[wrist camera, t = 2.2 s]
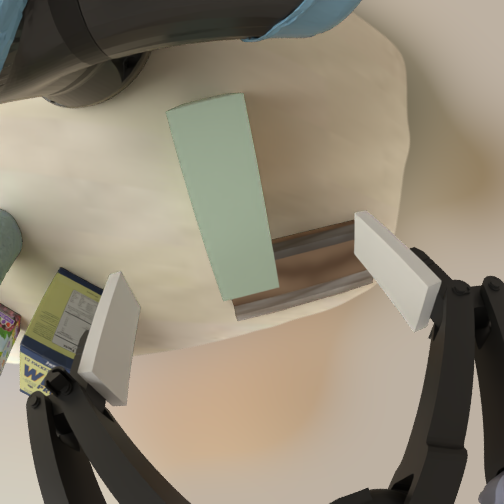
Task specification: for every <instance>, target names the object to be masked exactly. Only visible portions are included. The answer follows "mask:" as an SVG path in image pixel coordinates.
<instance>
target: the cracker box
mask: <svg viewBox="0 0 504 504" xmlns="http://www.w3.org/2000/svg"><path fill="white" fill-rule="evenodd" d="M166 115H167V119H168V123H169V126H170V130H171V134H172V137H173V141H174V145H175V148H176V152H177V156H178V159H179V163H180V166H181V170H182V173H183V177H184V180H185V183H186V187H187V190H188V194H189V197H190V200H191V203H192V207H193V210H194V213H195V217H196V220H197V223H198V226H199V229H200V232H201V236H202V239H203V242H204V245H205V248H206V251H207V254H208V257H209V260H210V263H211V266H212V269H213V272H214V275H215V278H216V281H217V284H218V287H219V290H220V293H221V296H222V299H223V301H227V300H231V299H235V298H239V297H243V296H247V295H251V294H255V293H259V292H263V291H267V290H271V289H275V288H278V287H279V282H278V276H277V270H276V264H275V259H274V253H273V247H272V241H271V236H270V230H269V224H268V219H267V213H266V208H265V202H264V197H263V191H262V186H261V181H260V175H259V170H258V165H257V160H256V154H255V149H254V144H253V139H252V134H251V129H250V124H249V119H248V114H247V109H246V104H245V99H244V94H243V93H230V94H223V95H218V96H214V97H209V98H205V99H201V100H197V101H193V102H189V103H186V104H182V105H180V106H177V107H175V108H173V109H171V110H168V111H166Z"/></svg>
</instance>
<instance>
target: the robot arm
mask: <svg viewBox="0 0 504 504" xmlns="http://www.w3.org/2000/svg"><path fill="white" fill-rule="evenodd" d="M360 1H361V0H0V104H3V103H7V102H12V101H17V100H23V99H29V98H35V97H43V98H44V99H45V100H47V101H48V102H50V103H52V104H54V105H57V106H60V107H66V108H80V107H86V106H91V105H95V104H99V103H101V102H104V101H106V100H108V99H110V98H112V97H114V96H115V95H117V94H118V93H120V92H121V91H122V90H123V89H125V88H126V87H127V86H128V85H129V84H130V83H131V82H132V81H133V80H134V79H135V78H136V76H137V75H138V74H139V73H140V71H141V70H142V68H143V67H144V65H145V63H146V61H147V59H148V57H149V55H150V52H151V50H155V49H160V48H166V47H172V46H178V45H184V44H192V43H200V42H209V41H220V40H236V39H241V40H242V41H244V42H257V41H261V40H264V39H267V38H307V37H312V36H314V35H316V34H319V33H323V32H325V31H328V30H330V29H332V28H333V27H335V26H336V25H338V24H339V23H341V22H342V21H343V20H344V19H345V18H346V17H347V16H348V15H349V14H350V13H351V12H352V11H353V10H354V9H355V8H356V7H357V6H358V4H359V3H360ZM354 254H355V255H356V257H357V258H358V259H359V260H360V262H361V263H362V264H363V265H364V267H365V268H366V269H367V270H368V272H369V273H370V274H371V275H372V277H373V278H374V279H375V280H376V282H377V283H378V284H379V286H380V287H381V288H382V289H383V291H384V292H385V293H386V295H387V296H388V297H389V299H390V300H391V301H392V303H393V304H394V305H395V307H396V308H397V309H398V311H399V312H400V313H401V315H402V316H403V318H404V319H405V320H406V322H407V323H408V325H409V326H410V327H411V329H412V330H413V332H416V331H418V330H421V329H423V328H425V327H426V326H427V325H428V322H429V319H430V318H431V319H432V321H433V322H434V325H433V327H432V330H431V333H430V335H429V339H430V338H431V344H430V351H429V357H428V364H427V369H426V375H425V380H424V385H423V390H422V394H421V398H420V403H419V407H418V411H417V414H416V418H415V422H414V425H413V429H412V432H411V435H410V439H409V442H408V445H407V448H406V451H405V454H404V457H403V459H402V462H401V464H400V465H399V467H398V468H397V470H396V472H395V474H394V476H393V478H392V481H391V483H390V485H389V488H388V489H372V490H369V489H368V488H366V489H363V490H361V491H358V492H355V493H353V494H350V495H347V496H345V497H341V498H339V499H337V500H335V501H333V502H332V503H330V504H454V502H455V499H456V496H457V493H458V490H459V487H460V484H461V481H462V477H463V474H464V470H465V466H466V462H467V456H468V455H467V450H466V449H465V448H464V440H465V436H466V430H467V424H468V418H469V412H470V405H471V396H472V387H473V375H474V358H475V363H476V369H477V375H478V381H479V388H480V396H481V404H482V415H483V429H484V469H485V477H486V484H487V485H486V486H485V488H484V490H483V491H482V492H481V493H480V495H479V498H478V500H479V502H480V503H481V504H504V283H503V282H502V281H501V280H500V279H499V278H497V277H495V276H487V277H486V278H484V281H483V283H482V285H481V286H473V287H470V286H469V285H468V284H467V283H465V282H463V281H461V280H452V279H451V278H450V277H449V276H448V275H447V274H446V273H445V272H444V271H443V270H442V269H441V268H440V267H439V266H438V265H437V264H435V263H434V261H433V260H431V259H430V258H429V257H428V256H427V255H426V254H425V253H424V252H423V251H421V250H419V249H417V248H415V247H413V248H410V249H409V248H408V247H407V246H406V245H405V244H404V243H403V242H401V240H400V239H398V238H397V237H396V236H395V235H394V234H393V233H392V232H391V231H390V230H389V229H387V228H386V227H385V226H384V225H383V224H382V223H381V222H380V221H378V220H377V219H376V218H375V217H374V216H373V215H371V214H370V213H369V212H368V211H367V210H364V211H360V212H356V213H355V241H354ZM140 309H141V307H140V305H139V303H138V302H137V300H136V298H135V296H134V294H133V293H132V291H131V289H130V287H129V285H128V283H127V282H126V280H125V278H124V276H123V274H122V272H121V271H120V272H116V273H112V274H109V277H108V280H107V282H106V285H105V287H104V290H103V293H102V296H101V298H100V301H99V304H98V307H97V310H96V312H95V315H94V318H93V321H92V324H91V328H90V330H85V332H84V333H83V335H82V336H81V338H80V340H79V343H78V346H77V347H78V348H77V350H76V353H75V354H76V355H75V356H74V360H73V363H72V367H71V370H70V374H69V373H68V372H67V371H66V370H65V369H64V368H63V367H61V366H56V367H54V368H52V369H51V370H50V371H49V372H48V373H47V375H46V377H45V380H44V386H45V387H46V388H47V389H48V390H49V391H50V392H51V393H52V394H50V395H48V396H46V395H44V394H43V393H42V392H41V391H35V392H33V393H32V394H31V395H30V396H29V398H28V400H27V404H26V409H27V419H28V428H29V436H30V443H31V449H32V455H33V460H34V465H35V469H36V474H37V478H38V482H39V486H40V490H41V494H42V497H43V500H44V504H106V501H105V499H104V497H103V495H102V492H101V490H100V488H99V485H98V482H97V480H96V478H95V475H94V472H93V469H92V467H91V464H92V465H93V467H94V468H95V470H96V471H97V473H98V474H99V476H100V478H101V479H102V480H103V482H104V483H105V485H106V486H107V488H108V489H109V490H110V492H111V493H112V494H113V496H114V497H115V498H116V500H117V501H118V502H119V504H191V503H190V502H188V501H187V500H186V499H185V498H184V497H183V496H182V495H181V494H180V493H179V492H178V491H177V490H176V489H175V488H174V487H172V485H171V484H170V483H169V482H168V481H167V480H166V479H165V478H164V477H163V476H162V475H161V474H160V473H159V472H158V471H157V470H156V469H155V468H154V466H153V465H152V464H151V463H150V462H149V461H148V460H147V459H146V458H145V456H144V455H143V454H142V453H141V452H140V450H139V449H138V448H137V447H136V446H135V445H134V443H133V442H132V441H131V439H130V438H129V437H128V436H127V434H126V433H125V432H124V431H123V429H122V428H121V427H120V425H119V424H118V423H117V421H116V420H115V418H114V417H113V416H112V414H111V413H110V411H109V410H108V409H107V408H106V407H105V403H106V401H107V402H109V403H110V404H111V405H112V406H125V405H126V404H127V395H128V386H129V378H130V369H131V363H132V356H133V349H134V343H135V337H136V331H137V325H138V320H139V314H140ZM89 460H90V461H89ZM90 462H91V464H90Z"/></svg>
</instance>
